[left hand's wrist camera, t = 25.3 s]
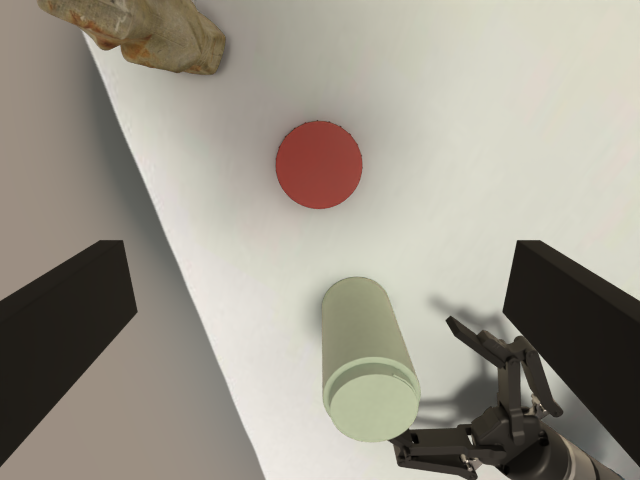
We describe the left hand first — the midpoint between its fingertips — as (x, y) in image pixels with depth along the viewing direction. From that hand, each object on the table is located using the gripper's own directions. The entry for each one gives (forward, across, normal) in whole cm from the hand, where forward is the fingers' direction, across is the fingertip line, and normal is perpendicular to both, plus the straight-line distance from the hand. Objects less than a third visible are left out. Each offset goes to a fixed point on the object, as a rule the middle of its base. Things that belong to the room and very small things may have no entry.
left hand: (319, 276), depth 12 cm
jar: (+26, +4, -17) cm, 31 cm away
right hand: (+20, +9, -20) cm, 30 cm away
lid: (+25, 0, 0) cm, 25 cm away
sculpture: (+26, -12, +11) cm, 30 cm away
